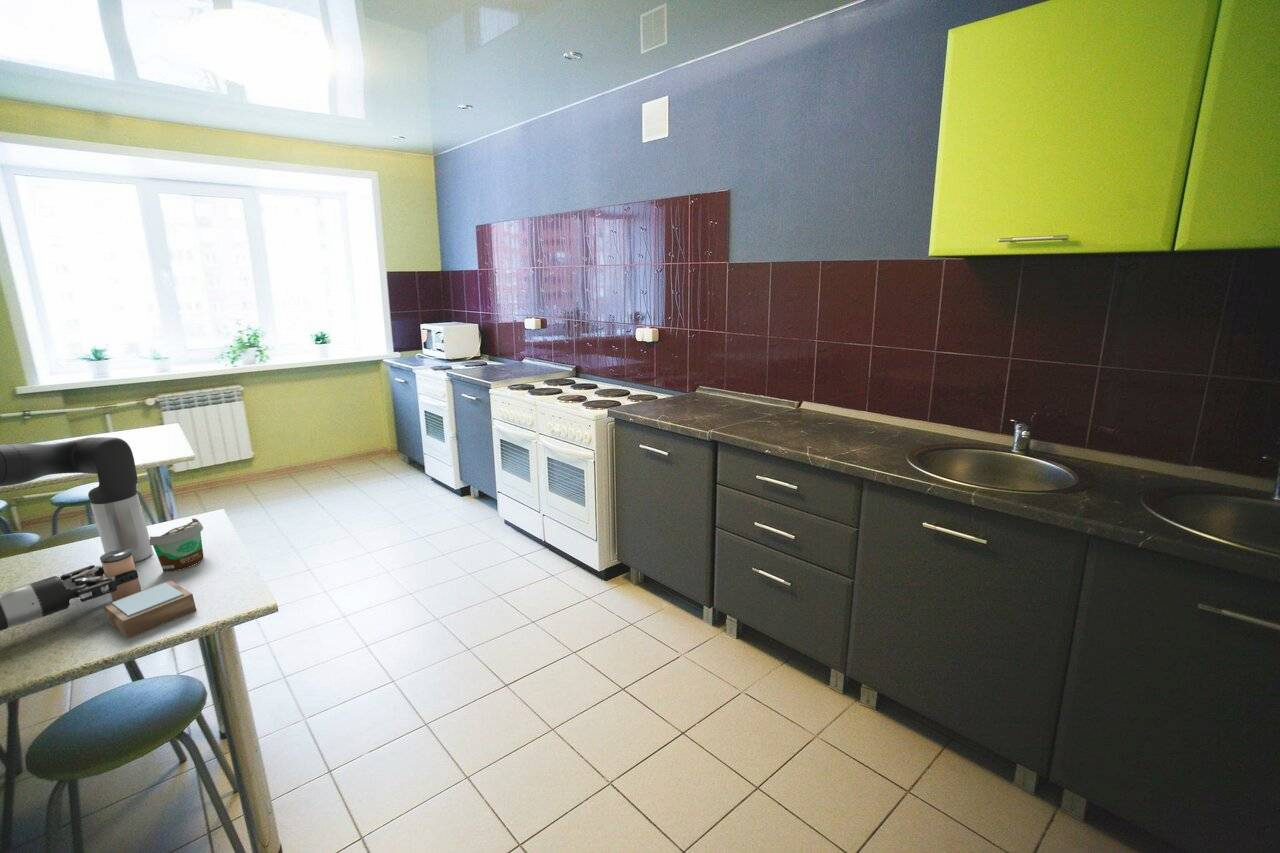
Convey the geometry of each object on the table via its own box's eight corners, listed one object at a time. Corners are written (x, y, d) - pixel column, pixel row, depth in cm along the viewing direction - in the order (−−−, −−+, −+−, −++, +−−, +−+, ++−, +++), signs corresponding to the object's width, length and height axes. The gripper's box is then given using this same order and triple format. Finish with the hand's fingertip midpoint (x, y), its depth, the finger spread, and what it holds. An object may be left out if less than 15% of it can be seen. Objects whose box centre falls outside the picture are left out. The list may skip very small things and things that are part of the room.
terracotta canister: (108, 599, 133) (96, 556, 131) (137, 589, 138) (126, 546, 135) (117, 606, 131) (104, 561, 128) (146, 595, 135) (135, 552, 132)
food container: (177, 576, 144) (167, 539, 141) (157, 574, 145) (147, 537, 142) (221, 553, 155) (213, 518, 153) (202, 551, 157) (194, 517, 154)
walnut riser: (107, 621, 125) (102, 603, 123) (174, 595, 134) (169, 579, 133) (128, 638, 118) (122, 619, 117) (196, 610, 128) (192, 592, 127)
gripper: (37, 594, 116) (137, 561, 129) (18, 577, 124) (115, 547, 137) (48, 627, 118) (146, 591, 131) (29, 608, 126) (123, 575, 139)
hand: (130, 568), depth 134 cm, fingers open, 8 cm apart
